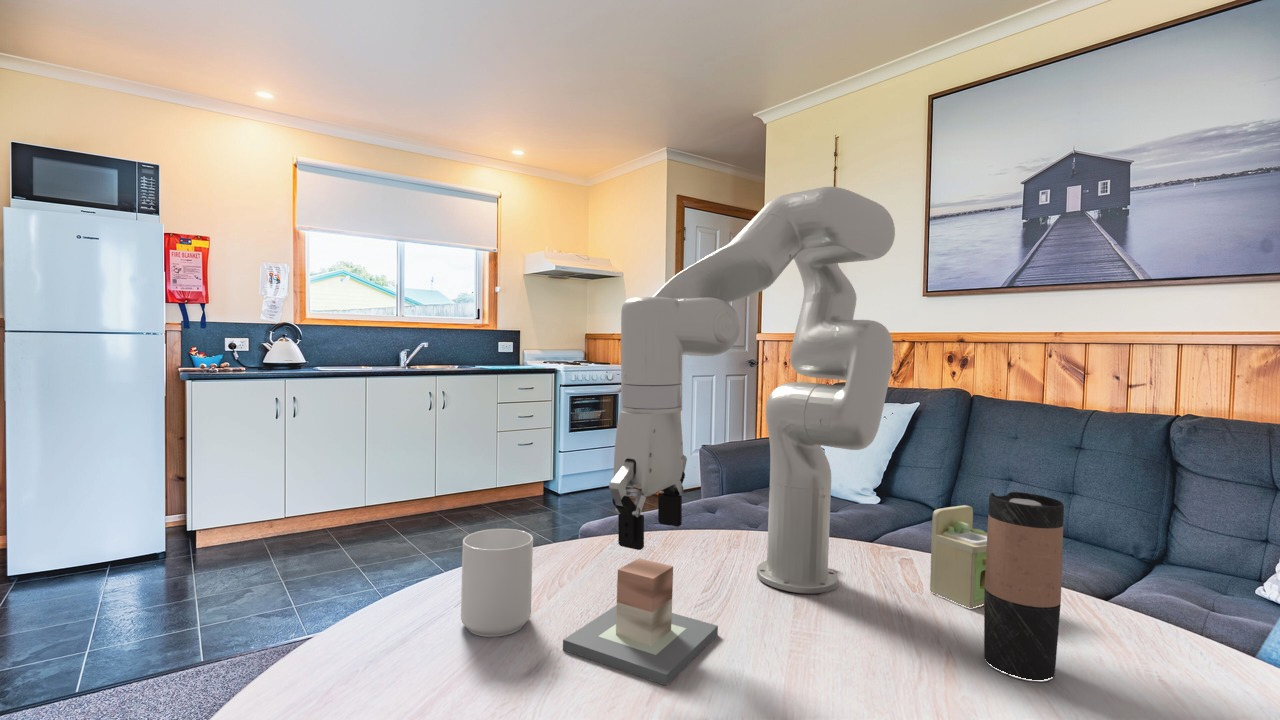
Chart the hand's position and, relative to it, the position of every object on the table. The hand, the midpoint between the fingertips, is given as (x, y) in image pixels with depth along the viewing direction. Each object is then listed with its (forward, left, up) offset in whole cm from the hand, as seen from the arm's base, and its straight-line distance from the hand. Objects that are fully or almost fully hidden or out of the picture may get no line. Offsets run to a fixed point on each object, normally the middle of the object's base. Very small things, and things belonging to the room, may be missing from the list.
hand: (651, 535), depth 75 cm
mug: (+6, -19, -13) cm, 24 cm away
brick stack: (+1, 0, -12) cm, 12 cm away
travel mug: (-19, +40, -13) cm, 46 cm away
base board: (+1, 0, -13) cm, 13 cm away
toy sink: (-39, +34, -13) cm, 53 cm away
